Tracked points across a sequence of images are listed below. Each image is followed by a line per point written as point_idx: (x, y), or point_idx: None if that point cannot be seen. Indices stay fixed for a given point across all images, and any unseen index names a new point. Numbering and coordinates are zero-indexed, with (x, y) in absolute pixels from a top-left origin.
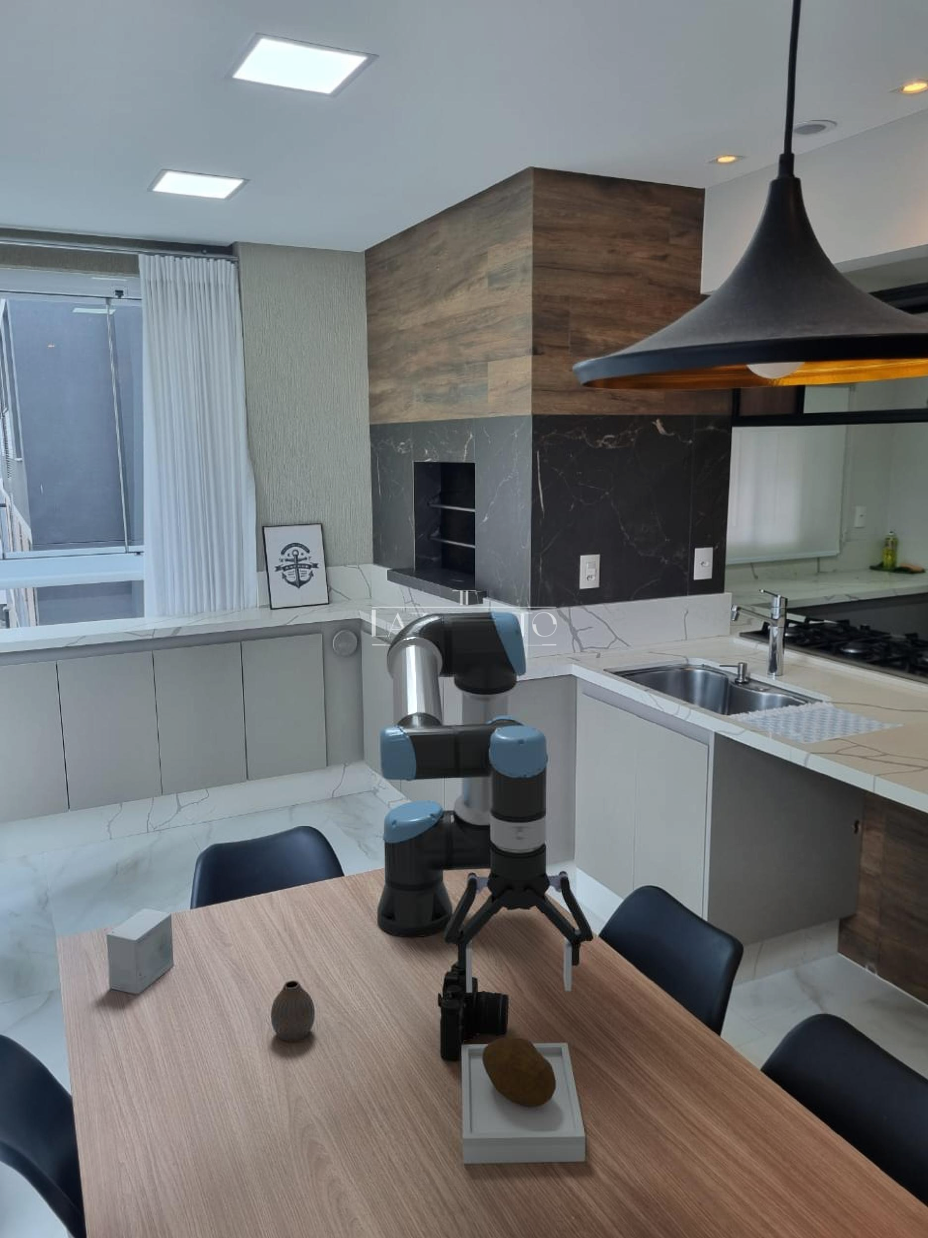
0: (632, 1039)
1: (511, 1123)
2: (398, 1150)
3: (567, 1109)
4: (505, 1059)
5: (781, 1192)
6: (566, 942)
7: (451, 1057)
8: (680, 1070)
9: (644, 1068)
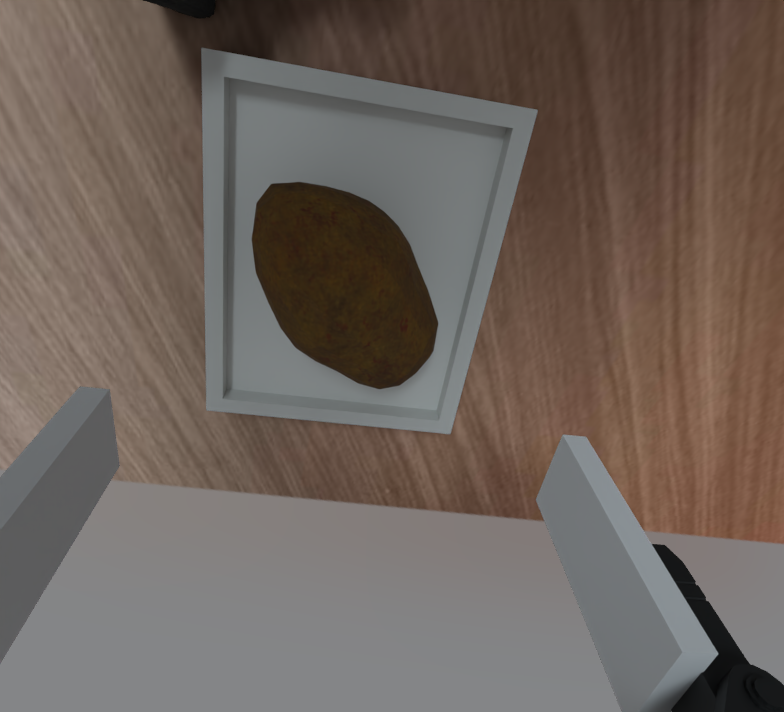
0: (752, 13)
1: None
2: (85, 329)
3: (447, 335)
4: (304, 343)
5: (700, 487)
6: (662, 692)
7: (184, 13)
8: (773, 184)
9: (698, 159)
